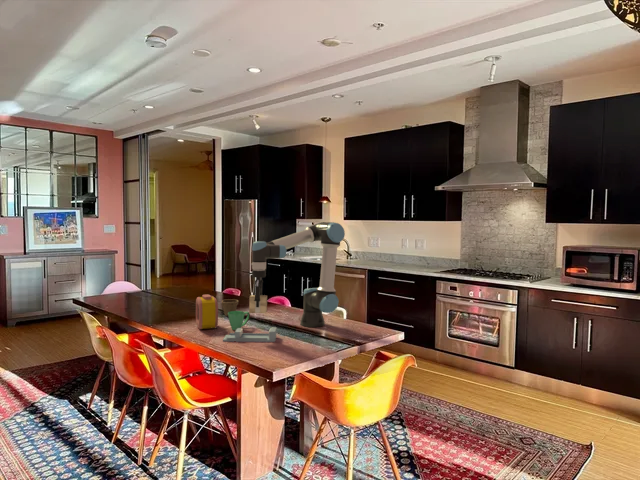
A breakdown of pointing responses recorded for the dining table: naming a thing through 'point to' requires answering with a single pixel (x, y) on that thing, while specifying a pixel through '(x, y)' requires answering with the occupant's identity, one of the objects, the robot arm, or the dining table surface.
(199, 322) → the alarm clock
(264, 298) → the maple block
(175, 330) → the dining table surface
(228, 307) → the flower pot
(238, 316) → the mug
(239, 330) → the slide jaw
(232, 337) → the vise
